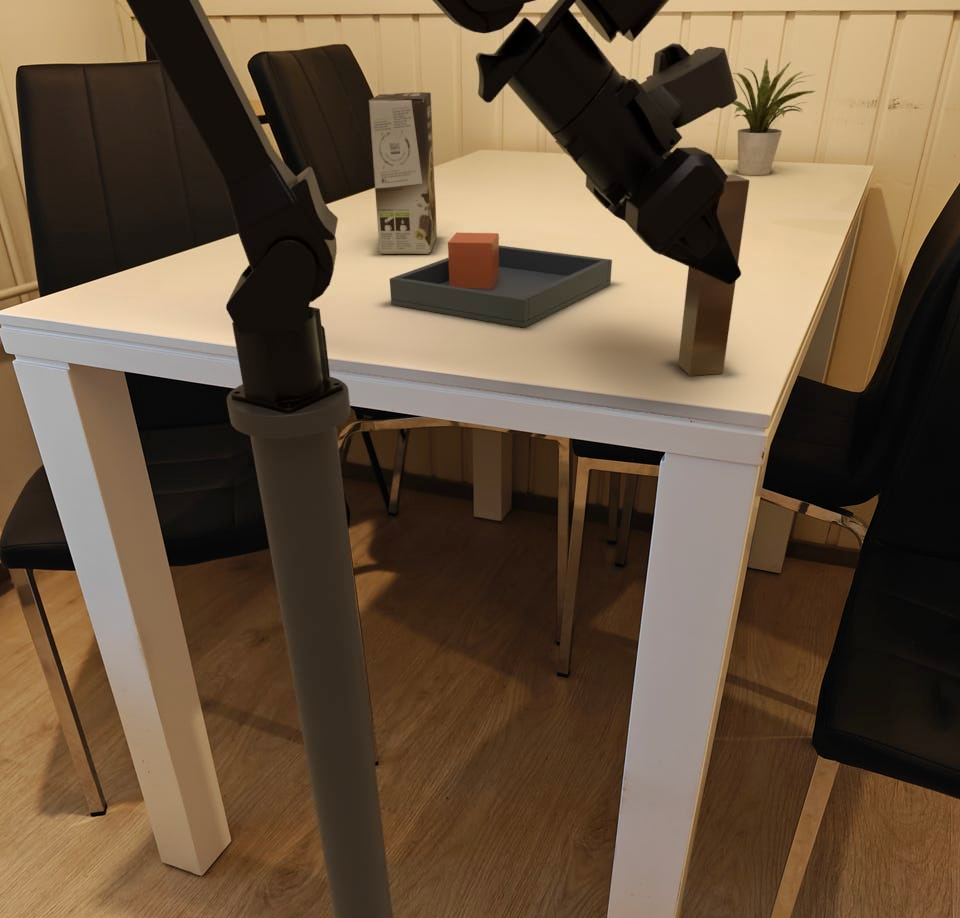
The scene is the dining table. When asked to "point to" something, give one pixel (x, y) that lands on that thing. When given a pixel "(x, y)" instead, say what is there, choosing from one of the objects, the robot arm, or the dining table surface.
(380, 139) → the coffee box
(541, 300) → the tray
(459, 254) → the block
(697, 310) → the tall brown rectangular pillar
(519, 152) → the dining table surface
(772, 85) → the house plant
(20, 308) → the dining table surface
